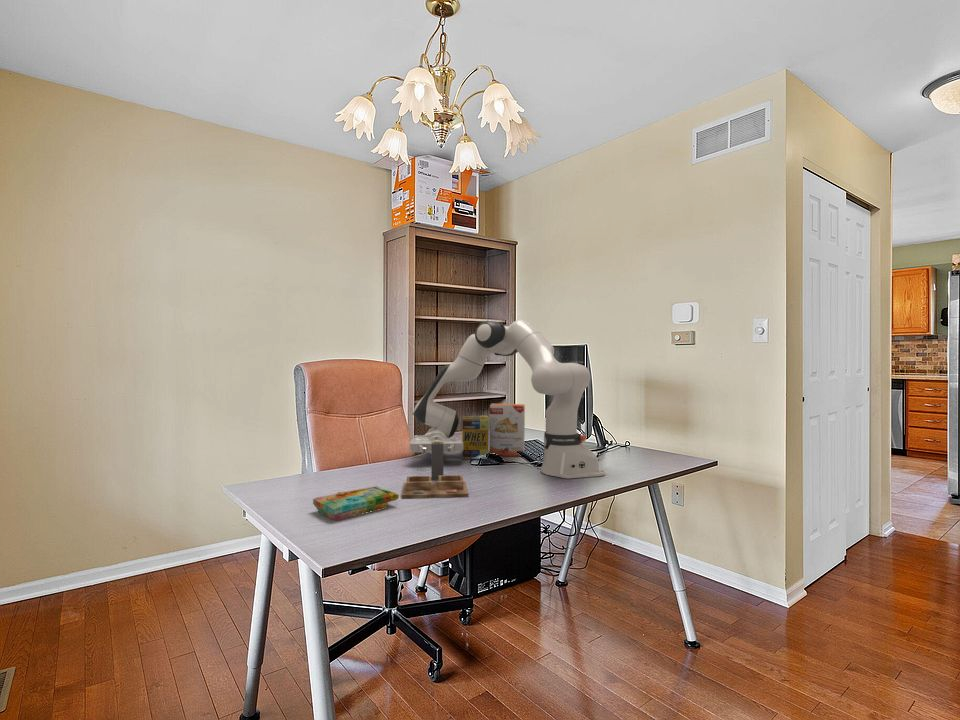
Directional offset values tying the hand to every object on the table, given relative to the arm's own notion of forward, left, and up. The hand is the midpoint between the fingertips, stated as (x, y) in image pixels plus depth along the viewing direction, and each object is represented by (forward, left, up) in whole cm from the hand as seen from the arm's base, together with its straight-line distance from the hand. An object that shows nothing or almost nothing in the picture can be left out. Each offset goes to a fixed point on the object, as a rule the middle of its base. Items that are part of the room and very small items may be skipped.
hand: (436, 450), depth 195 cm
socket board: (+1, +28, -7) cm, 29 cm away
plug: (0, +12, -7) cm, 14 cm away
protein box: (-16, -22, -7) cm, 28 cm away
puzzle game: (+23, +44, -8) cm, 50 cm away
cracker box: (-29, -22, -7) cm, 37 cm away
